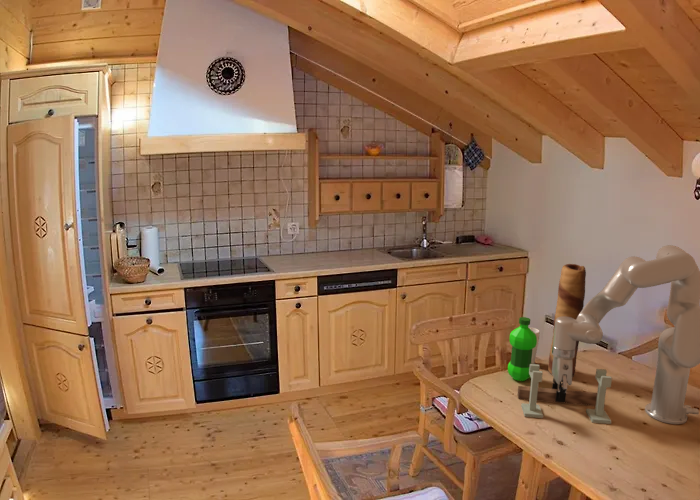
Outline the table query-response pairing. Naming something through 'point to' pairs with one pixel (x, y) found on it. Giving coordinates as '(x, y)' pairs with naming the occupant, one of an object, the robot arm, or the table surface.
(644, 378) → the table surface
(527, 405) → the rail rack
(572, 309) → the wafer roll
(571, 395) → the walnut rail
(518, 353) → the plastic bottle
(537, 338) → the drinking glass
